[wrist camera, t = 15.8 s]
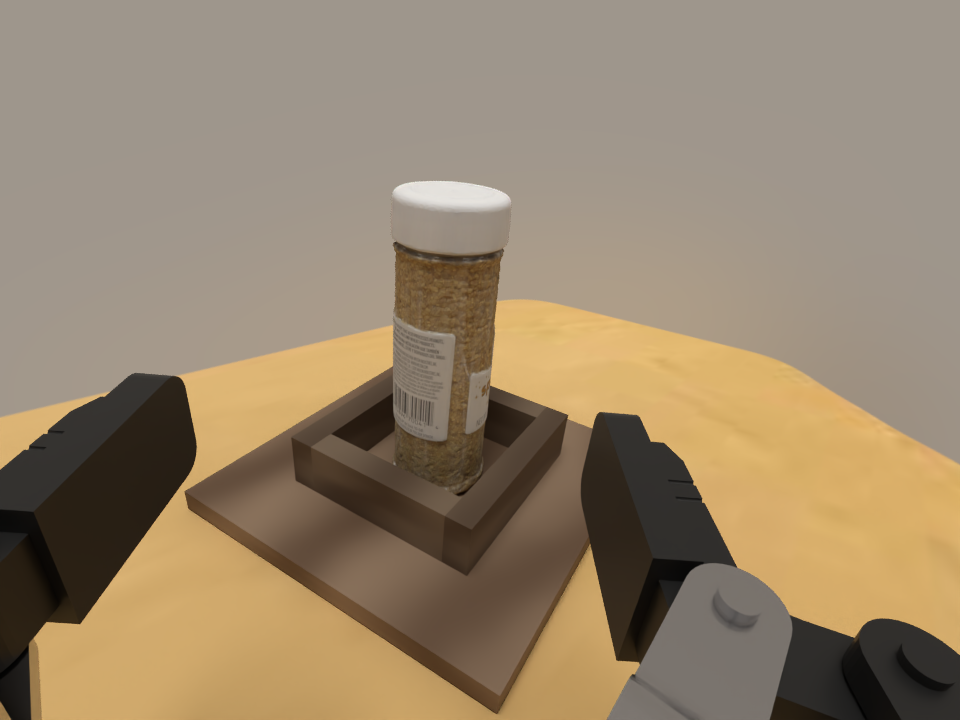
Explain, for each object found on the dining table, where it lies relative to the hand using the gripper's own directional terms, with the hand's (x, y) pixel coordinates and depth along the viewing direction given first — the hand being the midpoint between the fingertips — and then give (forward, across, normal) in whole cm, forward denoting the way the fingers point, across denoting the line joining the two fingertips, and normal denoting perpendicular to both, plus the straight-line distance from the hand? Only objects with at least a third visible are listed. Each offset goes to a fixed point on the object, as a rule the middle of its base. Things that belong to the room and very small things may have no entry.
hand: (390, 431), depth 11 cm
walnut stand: (+12, -1, +12) cm, 17 cm away
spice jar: (+12, -1, +11) cm, 16 cm away
